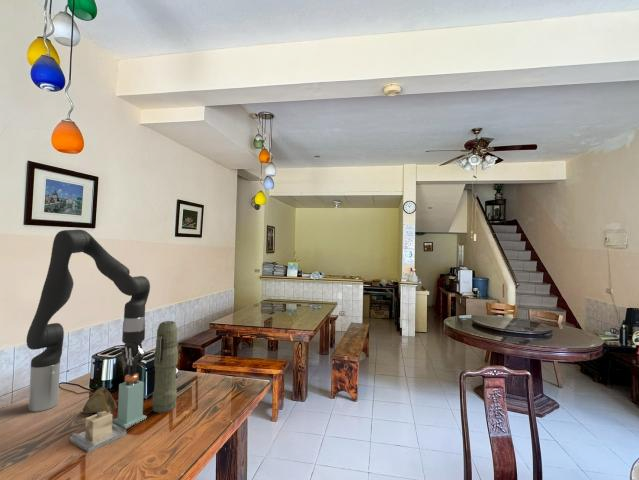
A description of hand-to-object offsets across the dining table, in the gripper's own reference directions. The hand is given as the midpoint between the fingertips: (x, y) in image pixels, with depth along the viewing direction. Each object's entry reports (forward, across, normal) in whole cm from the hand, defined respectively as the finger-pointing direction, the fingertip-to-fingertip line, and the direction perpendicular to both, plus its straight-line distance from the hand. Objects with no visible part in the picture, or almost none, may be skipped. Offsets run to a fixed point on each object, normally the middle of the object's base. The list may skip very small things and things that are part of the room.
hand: (132, 374), depth 123 cm
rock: (+18, -18, -2) cm, 25 cm away
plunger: (+13, 0, 0) cm, 13 cm away
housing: (+16, +2, -12) cm, 20 cm away
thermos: (+18, +2, +13) cm, 22 cm away
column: (+17, 0, 0) cm, 17 cm away
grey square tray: (+17, +2, -12) cm, 21 cm away
